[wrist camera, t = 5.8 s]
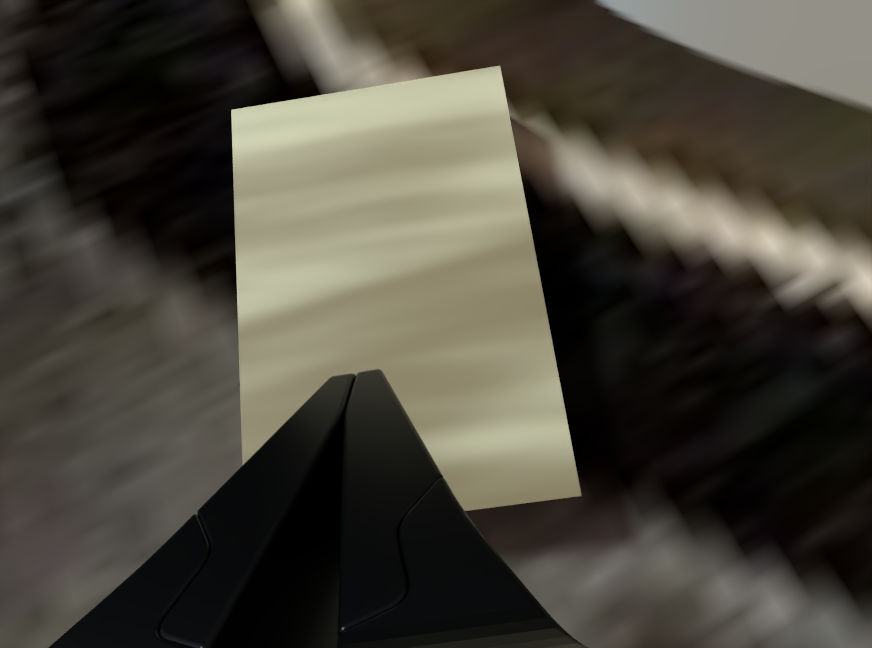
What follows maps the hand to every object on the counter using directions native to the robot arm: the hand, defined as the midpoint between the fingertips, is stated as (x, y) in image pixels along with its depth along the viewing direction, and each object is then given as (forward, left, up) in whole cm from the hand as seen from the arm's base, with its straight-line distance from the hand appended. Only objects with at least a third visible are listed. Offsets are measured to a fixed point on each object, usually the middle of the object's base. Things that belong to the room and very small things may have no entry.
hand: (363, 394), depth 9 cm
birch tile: (-2, +1, -6) cm, 6 cm away
